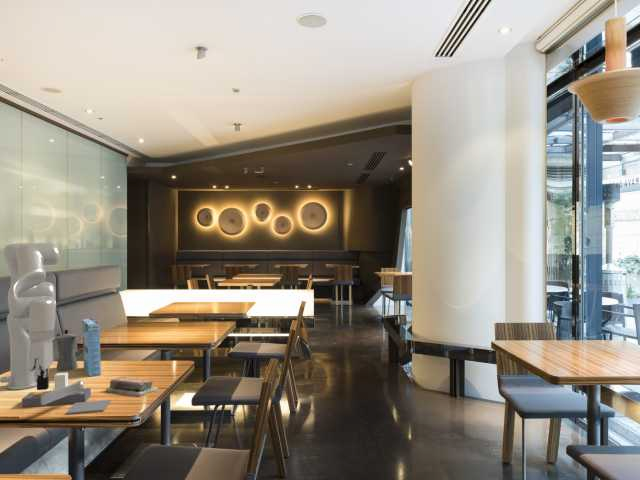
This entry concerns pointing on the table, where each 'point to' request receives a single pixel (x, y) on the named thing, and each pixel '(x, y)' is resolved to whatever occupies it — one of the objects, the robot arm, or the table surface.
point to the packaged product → (131, 386)
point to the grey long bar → (61, 392)
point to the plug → (61, 380)
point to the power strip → (76, 397)
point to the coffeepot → (66, 351)
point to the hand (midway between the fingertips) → (42, 388)
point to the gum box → (91, 347)
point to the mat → (88, 407)
